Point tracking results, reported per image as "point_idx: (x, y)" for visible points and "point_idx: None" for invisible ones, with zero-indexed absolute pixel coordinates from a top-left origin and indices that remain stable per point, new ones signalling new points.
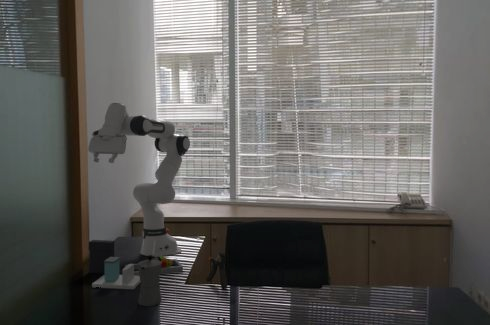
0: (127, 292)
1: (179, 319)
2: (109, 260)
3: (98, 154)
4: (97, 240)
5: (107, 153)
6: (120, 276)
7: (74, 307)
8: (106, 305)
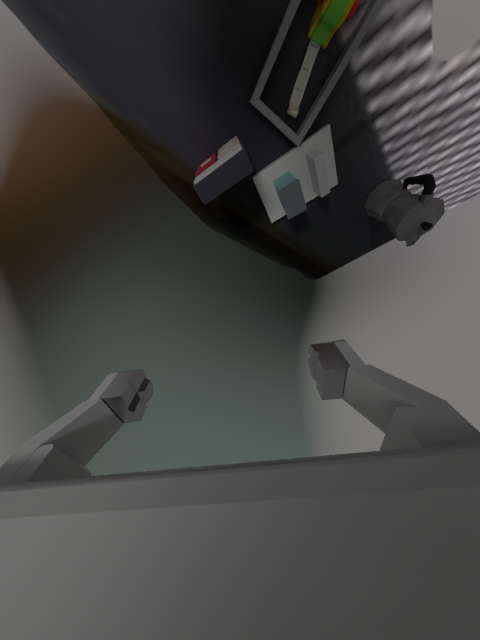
0: (332, 197)
1: None
2: (295, 210)
3: (47, 465)
4: (209, 182)
5: (202, 476)
6: (287, 165)
7: (300, 265)
8: (330, 242)
